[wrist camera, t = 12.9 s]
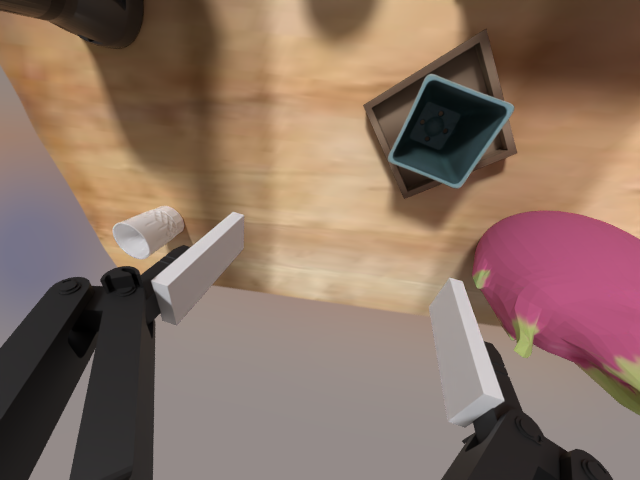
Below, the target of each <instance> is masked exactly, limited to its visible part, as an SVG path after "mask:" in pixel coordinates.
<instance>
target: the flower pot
mask: <svg viewBox="0 0 640 480" xmlns="http://www.w3.org/2000/svg"><path fill="white" fill-rule="evenodd" d="M440 111H442V112H443V115H441V116H439V112H440ZM513 111H514V106H513V105H512V104H511V103H508V102H505V101H503V100H500V99H497V98H494V97H491V96H488V95H486V94H483V93H480V92H478V91H475V90H473V89H470V88H467V87H465V86H462V85H460V84H457V83H455V82H452V81H450V80H447V79H444V78H442V77H440V76H437V75H435V74H429V75H427V76H426V77H425V79H424V81H423V83H422V86H421V88H420V90H419V93H418V95H417V97H416V99H415V101H414V103H413V106H412V108H411V110H410V112H409V114H408V116H407V119H406V121H405V123H404V125H403V127H402V129H401V131H400V133H399V135H398V137H397V139H396V141H395V143H394V145H393V147H392V149H391V151H390V153H389V156H388V161H389V162H390V163H392V164H395V165H397V166H400V167H403V168H405V169H408V170H411V171H413V172H416V173H418V174H420V175H423V176H426V177H428V178H431V179H433V180H436V181H438V182H440V183H443V184H445V185H447V186H450V187H452V188H456V189H458V188H460V187H461V186H462V185H463V184H464V183H465V181H466V179H467V178H468V177H469V175H470V174H471V172H472V171H473V169H474V168H475V166H476V165H477V163H478V162H479V161H480V159H481V158H482V156H483V155H484V153H485V152H486V150H487V149H488V148H489V146H490V145H491V143H492V142H493V140H494V139H495V137H496V136H497V135H498V133H499V132H500V130H501V129H502V127H503V126H504V125H505V123H506V122H507V120H508V119H509V118H510V116H511V115H512V113H513ZM421 120H424V121H425V122H424V124H421V123H420V122H421ZM444 129H447V132H446V133H444V132H443V130H444ZM426 137H429V140H427V141H426V140H425V138H426Z"/></svg>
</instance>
